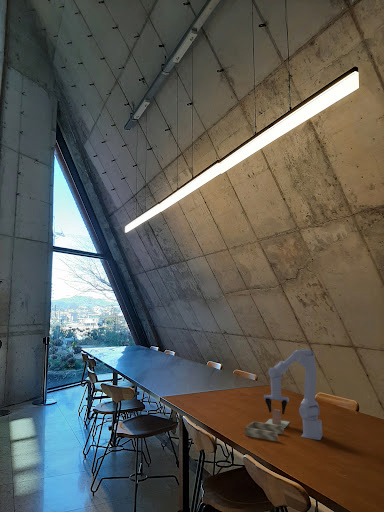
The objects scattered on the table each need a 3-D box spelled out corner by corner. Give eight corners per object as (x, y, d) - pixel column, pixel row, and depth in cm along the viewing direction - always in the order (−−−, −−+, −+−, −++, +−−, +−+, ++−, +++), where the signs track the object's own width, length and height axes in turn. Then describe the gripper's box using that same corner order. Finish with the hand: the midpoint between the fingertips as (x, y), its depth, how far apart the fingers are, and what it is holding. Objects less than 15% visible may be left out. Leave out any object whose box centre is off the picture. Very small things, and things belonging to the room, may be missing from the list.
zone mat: (289, 422, 209) (289, 421, 209) (284, 428, 199) (284, 427, 199) (269, 419, 215) (269, 418, 215) (263, 424, 205) (263, 424, 205)
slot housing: (283, 434, 190) (283, 426, 190) (277, 441, 179) (277, 432, 179) (253, 428, 198) (252, 421, 198) (245, 435, 187) (245, 427, 187)
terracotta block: (281, 422, 207) (280, 410, 208) (279, 424, 204) (278, 411, 205) (274, 421, 209) (273, 409, 210) (272, 423, 206) (271, 410, 207)
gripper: (289, 388, 210) (291, 413, 208) (265, 386, 217) (266, 409, 215) (286, 390, 204) (287, 416, 202) (262, 388, 211) (263, 412, 209)
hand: (276, 413), depth 208 cm, fingers open, 7 cm apart
